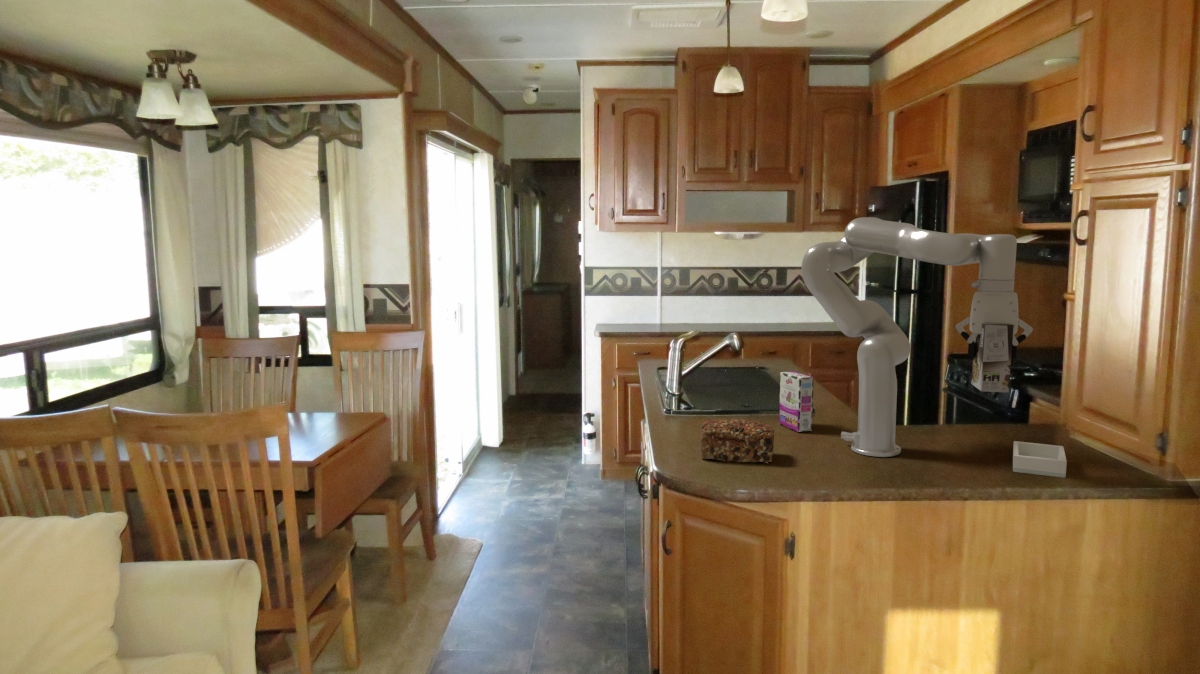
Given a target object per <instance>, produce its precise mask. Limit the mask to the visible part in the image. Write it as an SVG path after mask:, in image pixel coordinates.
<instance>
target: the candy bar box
mask: <svg viewBox="0 0 1200 674" xmlns="http://www.w3.org/2000/svg"><path fill="white" fill-rule="evenodd" d="M779 374H780V375H779V410H778V411H779V415H778V416H779V418H778V424H779V423H781V424H783V425H785V426H787V427H789V428H791V429H793V430H792V431H794V430H795V431H794V432H796V431H797V432H796V433H798V432H802V433H806V432H805V431H811V432H812V431H813V409H814V381H815V380H814V379H815V378H814V377H813V376H810V375H807V374H803V373H800V372H796V371H793V370H791V371H782V372H780V373H779ZM787 427H786V428H787ZM789 428H788V429H789ZM791 429H790V430H791Z"/></svg>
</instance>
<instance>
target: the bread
mask: <svg viewBox="0 0 1200 674" xmlns="http://www.w3.org/2000/svg"><path fill="white" fill-rule="evenodd" d="M774 440H775V429H774V428H773V426H771V425H770V423H763V422H759V421H752V420H747V419H725V420H724V419H717V418H713V419H707V421H704V422H703V424H702V426H701V434H700V448H701V449H700V452H701V458H703V459H702V460H706V459H709V460H715V461H718V460H725V461H726V462H730V461H744V462H751V463H757V462H771V463H772V461H773V455H774V444H775V443H774ZM725 461H724V462H725Z"/></svg>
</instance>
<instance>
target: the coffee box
mask: <svg viewBox="0 0 1200 674" xmlns="http://www.w3.org/2000/svg"><path fill="white" fill-rule="evenodd" d="M1013 327H1014V325H1011V324H982V330H981V335H980V334H978V335H977V337H976V338H975V339H974V343H975V357H974V359H973V360H972V366H971V368H972V369H971V382H970V383H971V385H972V386H973V387H975V388H976V389H977V390H979V391H980V392H988V393H989V392H991V393H1009V392H1010V391H1009V390H1010V377H1011V364H1012V362H1011V353H1012V340H1013Z"/></svg>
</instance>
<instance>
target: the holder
mask: <svg viewBox="0 0 1200 674" xmlns="http://www.w3.org/2000/svg"><path fill="white" fill-rule="evenodd" d="M1012 448H1013V449H1012V472H1015V473H1023V474H1029V475H1038V476H1039V475H1040V476H1047V477H1054V478H1055V477H1056V478H1062V479H1064V478H1066V477H1067V465H1068V462H1067V461H1068V460H1067V456H1066V453H1065V447H1064V446H1063V445H1055V444H1047V443H1046V444H1045V443H1038V442H1037V443H1035V442H1028V441H1027V442H1026V441H1025V442H1024V441H1016V440H1014V441H1013V447H1012Z"/></svg>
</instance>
